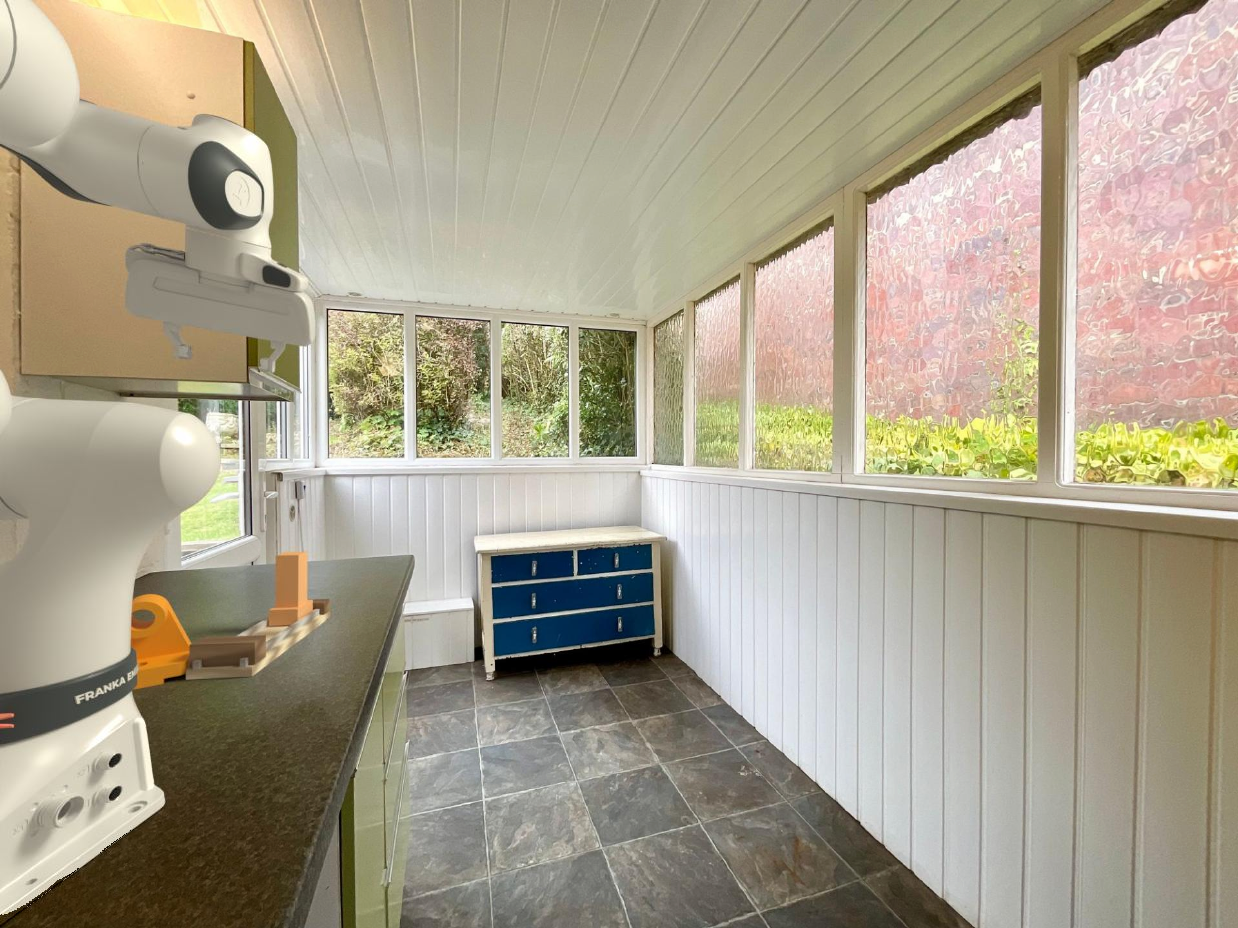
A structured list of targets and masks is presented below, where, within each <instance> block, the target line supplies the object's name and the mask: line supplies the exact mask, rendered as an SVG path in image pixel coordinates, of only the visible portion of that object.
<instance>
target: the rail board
mask: <svg viewBox="0 0 1238 928" xmlns="http://www.w3.org/2000/svg"><path fill="white" fill-rule="evenodd" d="M307 600H313V611H312V612H310V613H309V614H307V615H306V616H304V617H303V618H301V619H300V620H298V621H297V622H295V623H294V624H292V625H280V626H269V616H268V617H266V618H265V619H263V620H261V621H260V622H257V623H256V624H255V625H252V626H250V627H249V628H247V629H246V630H244V631H242V632H240V633H239V634H237V635H234V636H233V635H231V636H206V637H203V636H202V637H201V638H199V639H197V640H196V641H194V642H191V644H190V645H189V668H188V669H186V673H185V680H186V681H187V680H211V679H228V678H231V679H232V678H249V677H250V678H251V677H254V676H255V675H256V674H258V673H259V672H260V671H261V670H263V669H264V668H265V667H267V666H269V664H271V663H272V662H273V661H275V660H276V659H277V658H278V657H280V656H282V654H284V653H285V652H287V651H288V650H290V649H291V648H292V647H293V646H295V645H296V644H297V643H298V642H300V641H301V640H303V639H304V638H305V637H307V636H308V635H309V634H310V633H312V632H313V631H315V630H316V629H317V628H319V626H321V625H322V624H324V623H325V622H326V621H328V620H329V619H330V618H331V610H330V607H331V605H330V601H331V600H330V598H315V599H314V598H312V599H311V598H310V599H308V598H307ZM327 619H328V620H327Z"/></svg>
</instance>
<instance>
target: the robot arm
mask: <svg viewBox="0 0 1238 928" xmlns="http://www.w3.org/2000/svg"><path fill="white" fill-rule="evenodd" d="M70 49H71V48H70V47H69V45H68V43H67V41H66V40H65V37H64V36H63V35H62V33H61V32H60V31H59V29H58V28H57V26H56V25H55V24H54V23H53V22H52V21H51V20H50V18H49V17H48V16H47V15H46V14H45V13H44V12H43V11H42V9H41V8H40V7H39V6H38V5H37V4H36V3H35V2H34V1H33V0H0V147H1V148H2V149H4V150H6V151H7V152H9V153H11V154H13V155H14V156H16V157H17V158H18V159H20V160H21V161H22V162H23V163H25V164H26V165H27V166H28V167H30V168H31V169H32V170H33V171H34V172H35V173H36V174H37V175H38V176H39V177H40V178H42V179H43V180H44V181H45V182H46V183H48V185H50V186H51V187H52V188H53V189H55V190H57V191H58V192H59V193H61V194H62V195H64V196H66V197H67V198H70V199H73V200H76V201H80V202H85V203H90V204H91V203H92V204H97V205H100V206H101V205H102V206H106V207H115V208H119V209H123V210H127V211H131V212H135V213H138V214H139V213H140V214H143V215H147V216H151V217H155V218H160V219H163V220H168V221H172V222H175V223H180V224H183V225H184V229H185V230H184V251H183V250H179V249H175V248H169V247H162V246H158V245H155V244H153V243H148V242H140V244H134V245H131V246H130V247H128V248H127V249H126V251H125V254H124V255H125V256H124V257H125V259H124V261H125V268H126V270H127V272H128V275H127V280H126V284H125V294H124V307H125V309H126V310H127V311H128V312H129V314H130V315H131V316H133V317H135V318H141V319H147V320H153V321H158V322H162V331H163V333H164V334H165V336H166V337H167V338H168V340H169V341H170V343H171V344H172V345H173V356H174V358H175V359H180V360H181V359H182V360H191V359H193V357H194V356H193V355H194V354H193V351H194V346H193V345H190V344H186V343H185V341H184V339H183V337H182V335H181V334H180V333H179V332H183V329H184V328H183V327H184V326H187V327H191V328H197V329H204V330H209V331H215V332H219V333H220V332H221V333H225V334H231V335H237V336H241V337H248V338H253V339H259V340H265V341H268V342H269V341H270V348H271V350H274V351H273V352H272V353H271V354H270V356H269V357H265V356H264V357H262V358H260V360H259V361H260V362H259V363H260V366H259V371H260V372H266V373H270V374H271V373H272V374H274V373H275V371H276V361H277V360H278V358H279V357H280V356H281V355H282V353H284V351H285V350H286V345H287V344H288V345H293V346H298V347H303V348H305V347H308V346H310V345H312V344H313V343H314V342H315V339H316V315H315V306H314V304H313V301H312V299H311V297H309V295H307V294H306V293H305V292H306V291H308V288H309V279H308V277H307V276H305V275H303V274H302V273H300V272H298V271H296V270H294V269H292V268H290V267H288V266H287V265H285V264H283V263H281V262H278V261H276V260H274V259H273V258H272V243H271V239H270V235H269V233H270V232H269V230H270V224H271V222H272V219H273V216H274V198H275V197H274V194H275V193H274V177H273V165H272V159H271V158H272V157H271V154H270V153H271V152H270V149H269V147H268V145H267V144H266V143H265V141H264V140H262V138H260V137H259V136H258V135H257V134H255V133H254V132H253V131H251V130H250V129H248V128H245V127H243V126H242V125H240V124H238V123H236V122H234V121H232V120H230V119H226V118H224V117H221V116H219V115H218V116H217V115H214V114H208V113H200V114H196V115H195V116H194V117H193V120H192V122H191V125H190V126H173V125H169V124H165V123H161V122H158V121H155V120H150V119H147V118H144V117H140V116H138V115H137V116H136V115H134V114H129V113H127V112H122V111H119V110H115V109H112V108H108V107H105V106H103V105H98V104H96V103H94V102H91V101H89V100H87V99H82V98H80V97H81V95H80V92H81V85H80V84H81V83H80V78H79V73H78V69H77V66H76V65H77V64H76V63H75V59H74V56H73V53H72V52H71V50H70ZM138 249H140V250H138ZM5 376H6V375H4V372H3V371H2V370H1V369H0V521H3V520H4V521H5V520H6V521H7V520H28V521H29V522H28V525H29V526H28V531H27V533H26V538H25V539H24V543H23V545H22V546H21V548H20V549H19V551H17V553H16V554H15V556H14V557H13V558H11V559H9V560H7V561H5V562H2V563H0V915H1V914H2V915H4V914H8V913H9V912H12V911H14V910H17V908H20V907H21V906H23V905H26V903H29V901H32V899H34V898H35V897H37V896H38V895H40V894H41V893H42V892H44V891H45V890H47V889H48V888H49V887H50V886H51V885H53V884H54V883H55V882H56V881H57V880H59V879H62V878H63V877H65V876H67V875H69V874H71V873H72V872H74V871H75V870H76V871H78V870H77V868H79V869H80V868H82V867H83V866H84V865H86V864H87V863H89V862H90V861H91V860H92V859H94V858H95V857H97V856H98V855H100V854H101V853H103V851H102V850H104V848H106V847H107V846H109V845H110V846H112V845H111V843H113V842H114V841H116V840H117V839H118V840H120V839H121V838H123V837H124V836H125V835H127V834H128V833H130V832H131V831H132V830H133V829H136V827H138V826H139V825H140V824H142V823H143V822H144V821H146V820H147V819H148V818H150V817H151V816H153V815H154V814H156V813H157V812H158V811H159V810H161V808H162V807H164V805H165V803H166V798H165V792H164V791H163V790H162V788H160V787H158V786H157V785H156V784H155V779H154V775H153V768H152V767H153V766H152V761H151V760H152V759H151V753H150V752H151V751H150V746H149V745H150V743H149V738H148V732H147V725H146V722H145V719H144V718H143V716H142V715H141V712H140V711H139V708H138V706H137V704H136V701H135V699H134V694H133V691H134V690H135V689H134V688H135V687H136V685H137V671H138V670H139V665H138V663H137V655H136V650H135V649H134V648H132V647H131V614H132V600H133V599H134V588H135V581H136V577H137V573H138V570H139V567H140V565H141V562H142V560H143V558H144V556H145V553H146V552H147V550H148V549H149V547H150V545H152V542H153V541H154V540H155V538H156V537H157V536H158V534H160V532H161V531H162V530H163V529H164V528H165V527H166V526H167V525H169V523H170V522H172V521H173V520H174V519H175V518H176V517H178V516H180V514H182V513H183V512H186V511H187V510H188V509H190V508H192V507H194V506H195V505H197V504H198V503H199V502H200V501H201V500H203V499H204V498H205V496H207V494H209V492H211V489H212V488H213V487H214V485H215V483H216V481H217V480H218V477H219V474H220V471H221V463H222V460H221V459H222V458H221V457H222V456H221V451H220V446H219V443H218V441H217V439H216V437H215V435H214V434H213V432H212V431H211V430H210V429H209V427H208V426H207V425H206V424H205V423H204V422H203V421H202V420H200V418H198V417H197V416H196V415H194V414H192V413H188V412H183V411H179V410H174V409H169V408H164V407H161V406H156V405H155V406H154V405H149V404H143V403H139V402H130V401H127V402H126V401H109V400H108V401H105V400H104V401H101V400H82V399H76V400H75V399H56V398H41V397H26V396H18V395H12V394H11V390H10V386H9V383H8V381H7V379H6V377H5ZM133 689H134V690H133ZM130 830H131V831H130ZM126 833H127V834H126ZM124 834H125V835H124ZM123 835H124V836H123ZM122 836H123V837H122ZM120 837H121V838H120ZM119 838H120V839H119ZM118 840H117V841H118ZM117 841H116V842H117ZM114 843H115V842H114ZM114 843H113V844H114ZM110 846H109V847H110ZM106 849H107V848H106ZM100 852H101V853H100ZM76 871H75V872H76ZM75 872H74V873H75ZM72 874H73V873H72ZM72 874H71V875H72Z"/></svg>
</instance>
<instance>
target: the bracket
mask: <svg viewBox="0 0 1238 928" xmlns="http://www.w3.org/2000/svg"><path fill="white" fill-rule="evenodd" d="M140 610H145V611H149V612H152V614H153V615H154V618H153V619H151V620H149V621H148V620H147V621H141V620H139V619H137V618H136V617H135V616H134V612H137V611H140ZM190 644H192V642H191V640H190V638H189V637H188V635H187V633H186V631H185V629H184V627H183V626H182V624H181V622H180V620H179V618H178V617H177V615H176V613H175V611H174V609H173V608H172V606H171V604H170V603H169V601H168V599H167V598H165V597H164V596H162V595H159V594H153V593H147V594H142V595H138V596H136V597H133V600H132V614H131V647H132V648H134V649H135V650H136V655H137V663H138V665H139V670H138V671H137V685H136V687H135V688H134V689H133V690H132V691H134V690H138V689H139V690H140V689H143V688H149V687H153V686H158V685H164V684H165V681H166V679H168V678H173V677H179V676H182V675H186V669H188V668H189V645H190Z"/></svg>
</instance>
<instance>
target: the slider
mask: <svg viewBox="0 0 1238 928" xmlns="http://www.w3.org/2000/svg"><path fill="white" fill-rule="evenodd" d="M274 583H275V589H274V590H275V600H274V601H275V604H274V607H271V608H270V609H268V617H269V626H280V625H292V624H294V623H295V622H297V621H298V620H300V619H301V618H303V617H304V616H306V615H307V614H309V613H310V612H312V611H313V600H308V551H284V552H281V553H278V554H275V582H274Z"/></svg>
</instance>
